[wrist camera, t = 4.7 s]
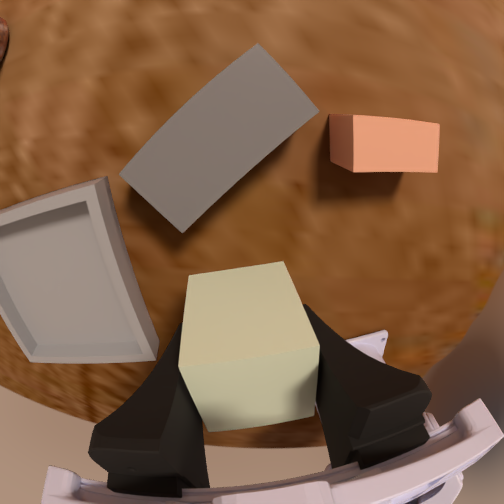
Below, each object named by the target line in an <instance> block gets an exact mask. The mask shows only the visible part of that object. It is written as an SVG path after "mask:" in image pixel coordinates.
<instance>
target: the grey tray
mask: <svg viewBox="0 0 504 504" xmlns="http://www.w3.org/2000/svg"><path fill="white" fill-rule="evenodd" d="M0 314H1V316H2V318H3V320H4V321H5V323H6V325H7V327H8V328H9V330H10V332H11V333H12V335H13V336H14V338H15V340H16V341H17V343H18V344H19V346H20V348H21V349H22V351H23V352H24V354H25V355H26V357H27V358H28V359H29V361H30V362H39V363H121V362H141V361H156V359H157V353H158V347H159V342H160V341H159V339H158V336H157V334H156V331H155V329H154V326H153V324H152V321H151V319H150V316H149V314H148V311H147V308H146V306H145V303H144V300H143V297H142V295H141V292H140V289H139V286H138V283H137V280H136V277H135V274H134V271H133V268H132V265H131V262H130V259H129V256H128V253H127V249H126V246H125V243H124V239H123V236H122V233H121V229H120V225H119V222H118V218H117V214H116V211H115V207H114V203H113V199H112V195H111V191H110V186H109V182H108V178H107V176H105V177H102V178H98V179H94V180H90V181H87V182H83V183H80V184H76V185H73V186H69V187H66V188H63V189H59V190H56V191H53V192H50V193H47V194H44V195H41V196H38V197H35V198H32V199H29V200H26V201H23V202H21V203H18V204H15V205H13V206H10V207H7V208H5V209H2V210H0Z"/></svg>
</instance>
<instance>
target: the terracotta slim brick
mask: <svg viewBox="0 0 504 504" xmlns="http://www.w3.org/2000/svg"><path fill="white" fill-rule="evenodd" d="M329 130H330V162H332V163H334V164H337V165H339V166H341V167H343V168H345V169H347V170H349V171H352V172H437V169H438V153H439V124H436V123H429V122H423V121H415V120H408V119H399V118H389V117H377V116H363V115H343V114H329Z"/></svg>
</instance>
